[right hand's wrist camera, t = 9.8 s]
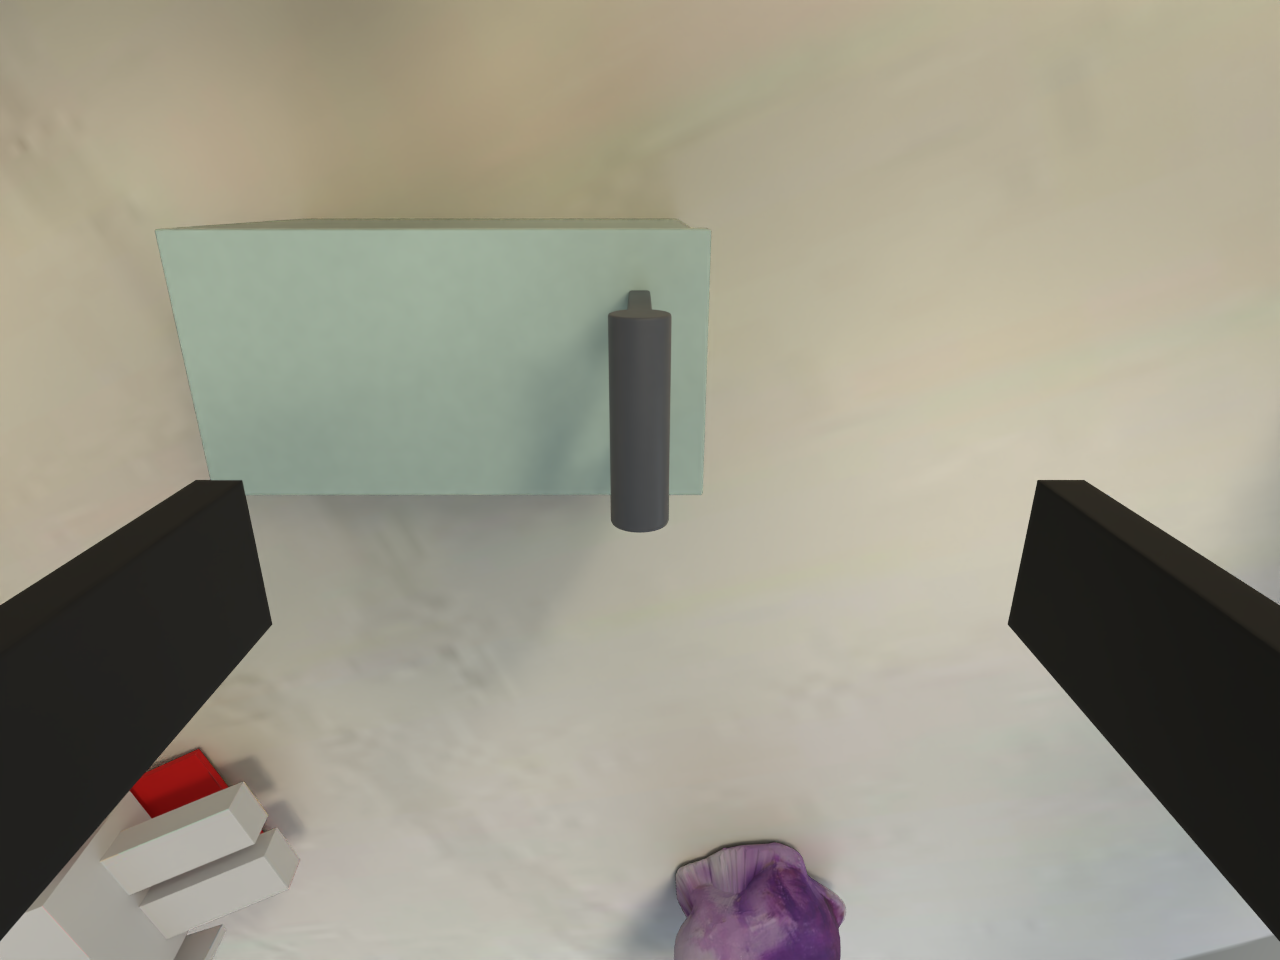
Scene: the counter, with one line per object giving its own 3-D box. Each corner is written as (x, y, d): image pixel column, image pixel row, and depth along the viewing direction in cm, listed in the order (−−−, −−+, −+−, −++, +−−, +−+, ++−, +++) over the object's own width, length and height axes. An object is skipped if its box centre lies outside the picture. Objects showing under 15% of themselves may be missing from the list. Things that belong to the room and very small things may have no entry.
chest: (678, 218, 34) (693, 227, 25) (674, 412, 37) (686, 484, 28) (301, 218, 34) (173, 228, 25) (331, 412, 37) (228, 485, 28)
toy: (287, 998, 39) (-247, 1217, 38) (350, 811, 51) (-53, 976, 51) (154, 831, 35) (-443, 1075, 34) (257, 673, 47) (-179, 851, 47)
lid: (708, 227, 25) (739, 241, 17) (700, 485, 28) (723, 590, 20) (172, 227, 25) (-32, 241, 17) (227, 485, 28) (78, 591, 20)
